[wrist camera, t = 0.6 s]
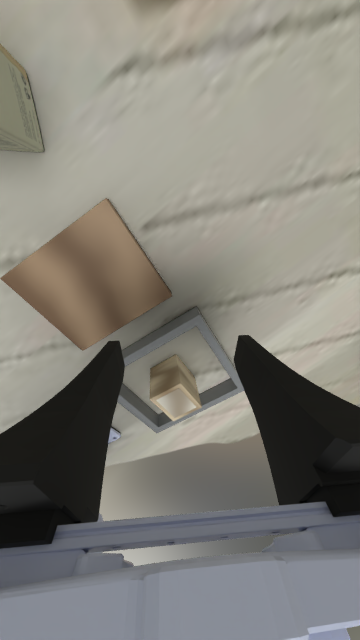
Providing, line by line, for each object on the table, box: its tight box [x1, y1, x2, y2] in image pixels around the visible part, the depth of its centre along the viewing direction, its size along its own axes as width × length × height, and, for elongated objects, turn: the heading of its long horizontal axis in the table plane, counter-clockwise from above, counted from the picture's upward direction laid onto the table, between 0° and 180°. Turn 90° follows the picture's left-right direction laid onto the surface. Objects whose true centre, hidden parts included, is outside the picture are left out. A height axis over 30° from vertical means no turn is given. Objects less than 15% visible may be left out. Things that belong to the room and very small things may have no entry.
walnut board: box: [0, 199, 172, 351], centre depth 19 cm, size 12×10×1 cm
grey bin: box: [117, 307, 244, 433], centre depth 26 cm, size 15×14×2 cm
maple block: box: [150, 355, 202, 421], centre depth 25 cm, size 4×5×5 cm
